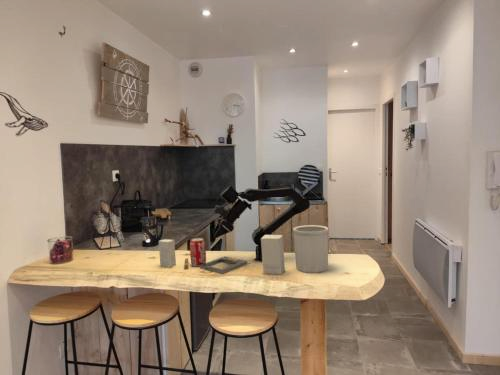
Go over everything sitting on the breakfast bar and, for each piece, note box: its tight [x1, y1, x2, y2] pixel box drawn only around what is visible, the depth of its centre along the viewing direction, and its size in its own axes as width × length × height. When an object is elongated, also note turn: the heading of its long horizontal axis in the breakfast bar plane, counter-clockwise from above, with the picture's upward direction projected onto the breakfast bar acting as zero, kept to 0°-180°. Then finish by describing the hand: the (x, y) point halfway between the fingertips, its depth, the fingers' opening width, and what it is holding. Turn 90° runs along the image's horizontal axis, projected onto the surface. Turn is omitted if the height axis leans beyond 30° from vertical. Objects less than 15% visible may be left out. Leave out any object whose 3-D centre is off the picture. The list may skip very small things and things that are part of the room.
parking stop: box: [183, 257, 189, 270], centre depth 167 cm, size 10×2×2 cm, turn 8°
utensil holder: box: [292, 224, 329, 274], centre depth 157 cm, size 15×15×18 cm
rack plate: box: [199, 256, 248, 275], centre depth 164 cm, size 14×16×2 cm
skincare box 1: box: [158, 238, 177, 268], centre depth 168 cm, size 6×4×12 cm
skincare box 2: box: [261, 234, 286, 276], centre depth 153 cm, size 8×7×16 cm
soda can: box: [189, 237, 207, 267], centre depth 167 cm, size 7×7×12 cm
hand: (213, 235), depth 168 cm, fingers open, 9 cm apart
